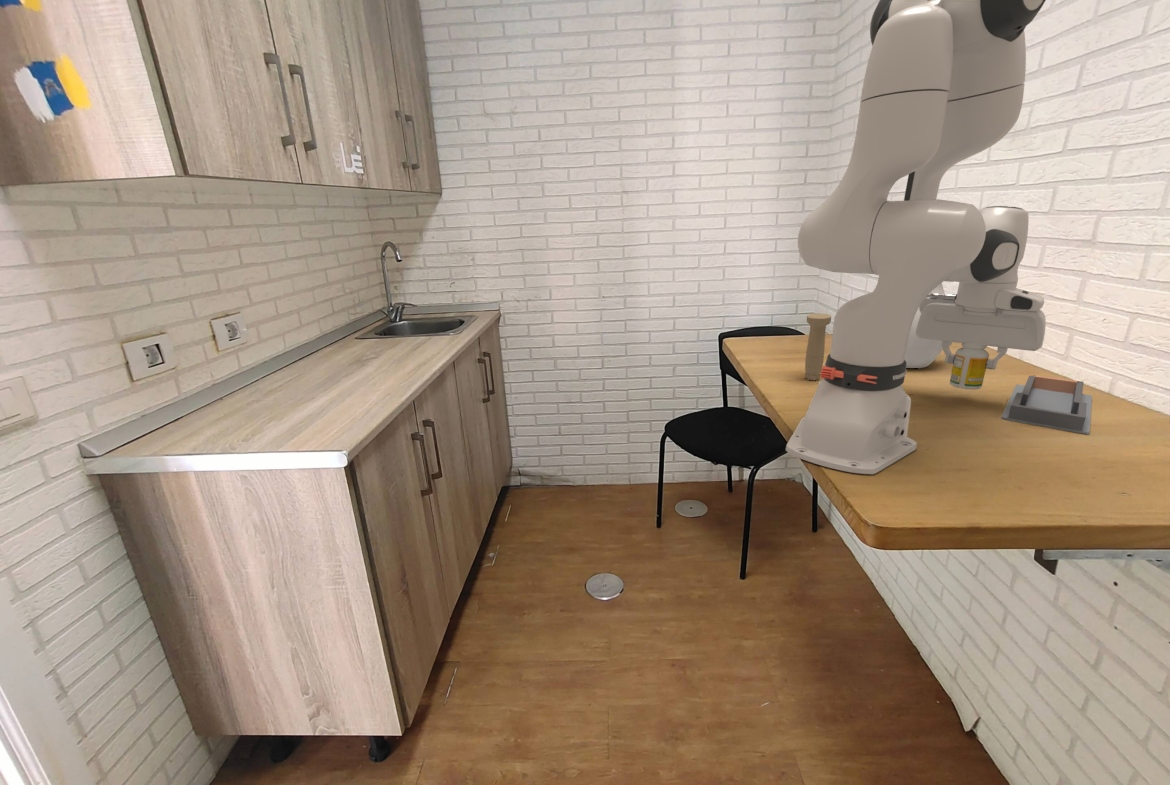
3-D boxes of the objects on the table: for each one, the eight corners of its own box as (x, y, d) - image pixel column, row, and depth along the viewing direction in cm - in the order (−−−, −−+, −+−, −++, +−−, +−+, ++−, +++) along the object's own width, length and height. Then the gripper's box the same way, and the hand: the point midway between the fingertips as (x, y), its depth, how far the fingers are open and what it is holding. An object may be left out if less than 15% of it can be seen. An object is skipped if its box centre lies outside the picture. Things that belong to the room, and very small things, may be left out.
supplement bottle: (945, 386, 106) (954, 339, 103) (954, 380, 109) (963, 335, 106) (976, 391, 102) (987, 343, 99) (985, 386, 105) (995, 339, 102)
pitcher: (867, 369, 128) (884, 253, 119) (862, 352, 143) (876, 247, 134) (985, 377, 119) (1012, 252, 110) (966, 358, 134) (989, 246, 125)
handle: (825, 376, 124) (833, 314, 119) (820, 384, 119) (827, 319, 114) (804, 374, 127) (810, 312, 122) (798, 381, 122) (804, 317, 117)
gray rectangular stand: (1089, 434, 89) (1093, 419, 88) (1000, 418, 97) (1004, 404, 96) (1091, 397, 105) (1095, 383, 104) (1016, 386, 113) (1019, 373, 112)
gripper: (918, 294, 104) (906, 360, 109) (1052, 302, 91) (1033, 378, 95) (925, 290, 109) (914, 354, 113) (1055, 298, 95) (1036, 371, 99)
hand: (969, 365), depth 104 cm, fingers closed on supplement bottle, 5 cm apart
